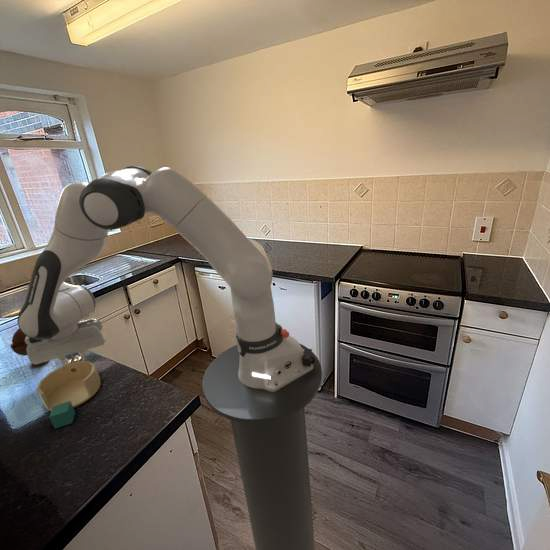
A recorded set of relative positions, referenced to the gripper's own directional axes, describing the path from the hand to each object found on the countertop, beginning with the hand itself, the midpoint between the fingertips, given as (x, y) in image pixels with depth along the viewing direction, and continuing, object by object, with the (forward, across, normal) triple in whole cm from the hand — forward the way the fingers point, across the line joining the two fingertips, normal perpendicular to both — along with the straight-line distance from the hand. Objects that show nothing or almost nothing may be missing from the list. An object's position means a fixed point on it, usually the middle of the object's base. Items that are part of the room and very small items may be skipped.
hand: (76, 364), depth 96 cm
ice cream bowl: (+3, +14, -14) cm, 20 cm away
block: (+2, 0, +19) cm, 19 cm away
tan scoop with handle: (+3, 0, +7) cm, 8 cm away
